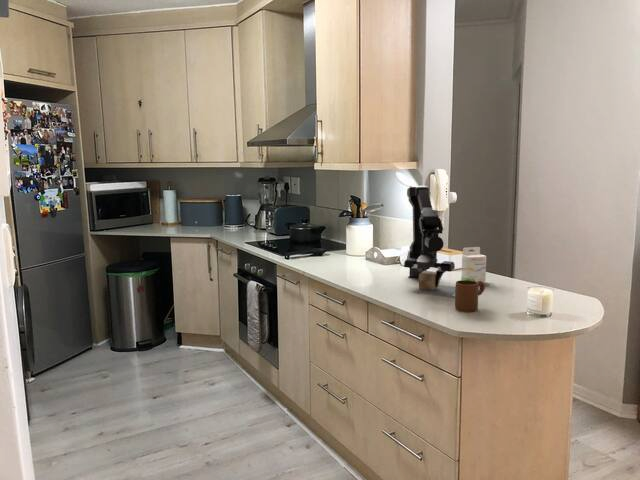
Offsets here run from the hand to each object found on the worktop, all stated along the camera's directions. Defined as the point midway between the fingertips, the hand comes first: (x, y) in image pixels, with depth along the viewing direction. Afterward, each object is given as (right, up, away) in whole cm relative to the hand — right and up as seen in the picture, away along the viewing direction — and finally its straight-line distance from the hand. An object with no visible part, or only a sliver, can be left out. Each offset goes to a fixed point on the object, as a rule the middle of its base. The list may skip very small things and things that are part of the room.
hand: (428, 286), depth 207 cm
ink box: (+20, 0, +9) cm, 22 cm away
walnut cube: (0, -1, 0) cm, 1 cm away
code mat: (+7, -2, -4) cm, 8 cm away
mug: (+9, -6, -26) cm, 28 cm away
